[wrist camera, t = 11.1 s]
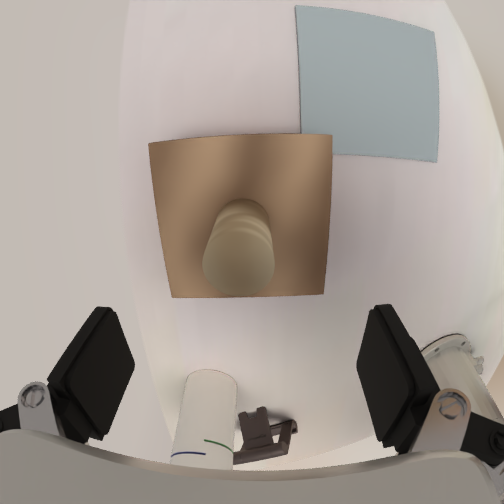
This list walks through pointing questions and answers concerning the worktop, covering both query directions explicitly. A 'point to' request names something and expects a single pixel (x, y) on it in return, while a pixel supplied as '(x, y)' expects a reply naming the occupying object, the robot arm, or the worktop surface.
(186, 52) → the worktop surface
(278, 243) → the square wooden lid
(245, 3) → the worktop surface
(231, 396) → the cylindrical container
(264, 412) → the portable electronic device stand
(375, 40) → the slate mat
